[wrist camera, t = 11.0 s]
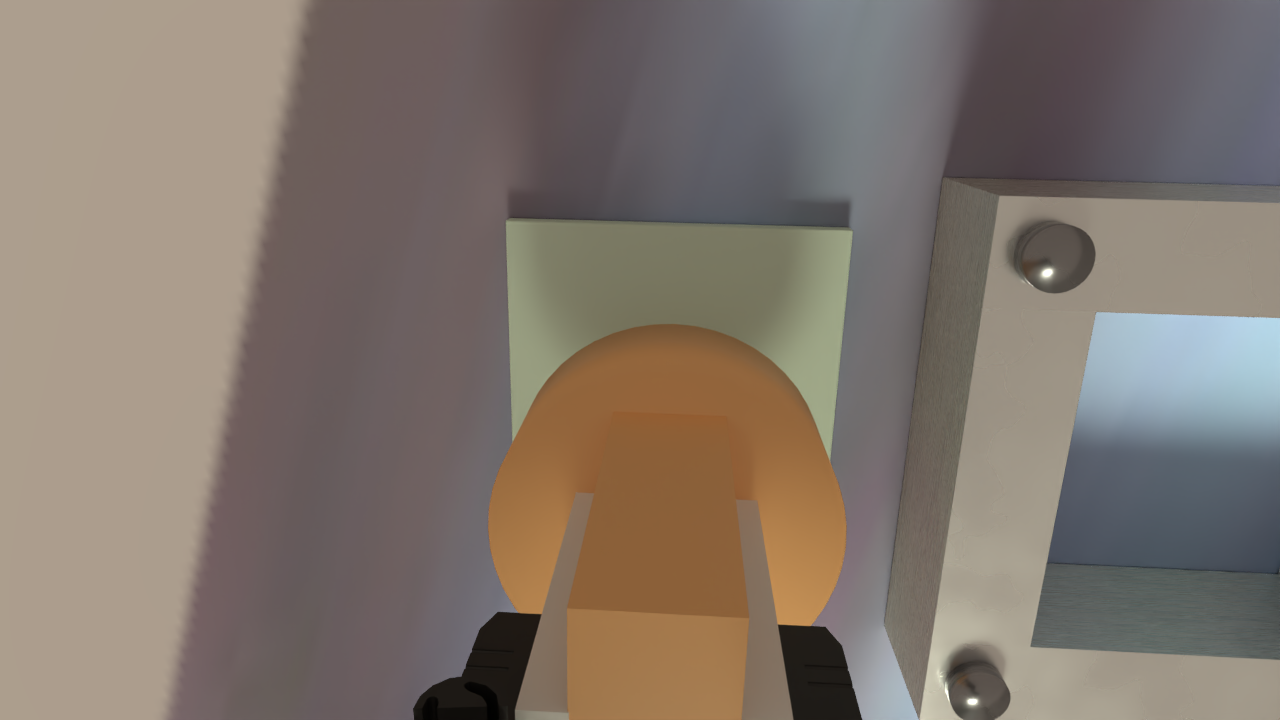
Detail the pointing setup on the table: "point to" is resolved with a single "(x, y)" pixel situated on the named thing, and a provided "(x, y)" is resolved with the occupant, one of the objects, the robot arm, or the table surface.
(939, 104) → the table surface
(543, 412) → the orange stamp
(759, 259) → the mat
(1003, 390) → the housing
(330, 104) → the table surface
